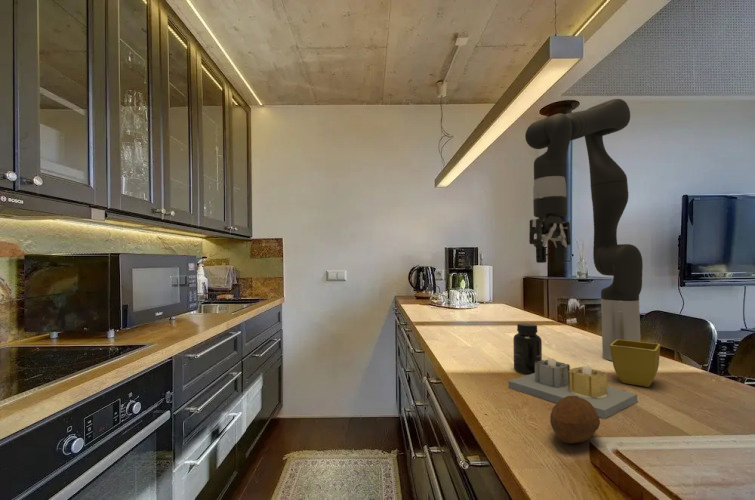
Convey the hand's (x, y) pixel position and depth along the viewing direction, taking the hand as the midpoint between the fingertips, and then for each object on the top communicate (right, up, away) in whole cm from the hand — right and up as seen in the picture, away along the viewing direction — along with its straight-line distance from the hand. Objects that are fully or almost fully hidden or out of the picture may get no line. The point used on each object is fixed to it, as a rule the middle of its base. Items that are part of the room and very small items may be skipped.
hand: (551, 262), depth 89 cm
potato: (-11, -27, -32) cm, 44 cm away
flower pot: (+17, -28, -5) cm, 33 cm away
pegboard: (-2, -28, -12) cm, 30 cm away
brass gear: (0, -26, -15) cm, 30 cm away
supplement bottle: (-4, -29, +5) cm, 29 cm away
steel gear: (-4, -26, -9) cm, 28 cm away
